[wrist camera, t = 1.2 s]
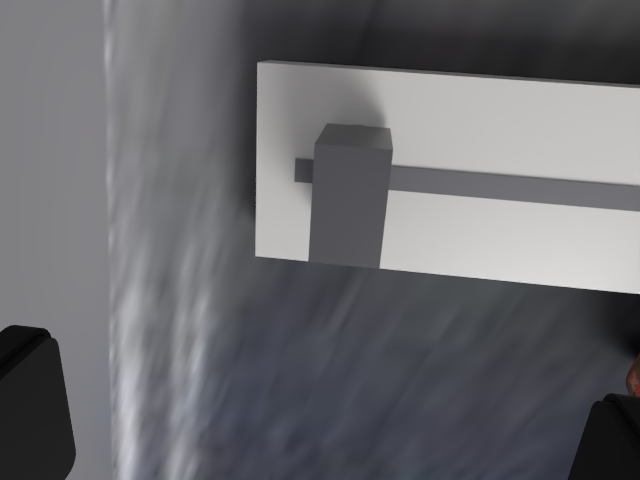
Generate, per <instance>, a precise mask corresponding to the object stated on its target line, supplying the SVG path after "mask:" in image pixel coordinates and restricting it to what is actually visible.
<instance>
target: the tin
mask: <svg viewBox="0 0 640 480" xmlns="http://www.w3.org/2000/svg"><path fill="white" fill-rule="evenodd" d="M626 387H627V389H628V392H629V395H630V396H638V397H640V354H639V355H638V357H637V359H636V360H635V362H634V363H633V365H632V367H631V369H630V371H629V372H628V375H627V378H626Z"/></svg>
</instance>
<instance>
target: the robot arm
mask: <svg viewBox="0 0 640 480" xmlns="http://www.w3.org/2000/svg"><path fill="white" fill-rule="evenodd" d="M75 456H76V449H75V443H74V437H73V431H72V425H71V419H70V413H69V406H68V401H67V395H66V388H65V383H64V376H63V371H62V364H61V358H60V352H59V346H58V343H57V341H56V339H54V338H52V337H51V335H50V333H49V332H48V330H46V329H44V328H36V327H28V326H19V325H11V326H9V327H7V328H5V329H4V330H2V331H1V332H0V480H65V479H66V477H67V476H68V474H69V473H70V471H71V469H72V467H73V464H74V461H75ZM568 480H640V397H638V396H630V395H621V394H612V393H611V394H607V395H606V396H605V397H604V399H603V401H596V402H595V403H594V404H593V406H592V408H591V411H590V414H589V417H588V420H587V423H586V426H585V429H584V432H583V435H582V438H581V441H580V444H579V447H578V450H577V453H576V456H575V459H574V462H573V465H572V468H571V471H570V474H569V477H568Z"/></svg>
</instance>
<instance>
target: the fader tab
mask: <svg viewBox="0 0 640 480" xmlns="http://www.w3.org/2000/svg"><path fill="white" fill-rule="evenodd" d="M392 156H393V145H392V137H391V130H390V128H382V127H369V126H356V125H343V124H330V123H327V124H326V126H325V127H324V129H323V131H322V132H321V134H320V136H319V137H318V139H317V140H316V142H315V146H314V165H313V183H312V201H311V220H310V238H309V257H308V262H316V263H326V264H336V265H346V266H357V267H367V268H377V269H379V268H380V260H381V251H382V242H383V234H384V225H385V217H386V208H387V199H388V191H389V182H390V173H391V165H392Z"/></svg>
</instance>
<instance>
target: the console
mask: <svg viewBox="0 0 640 480" xmlns="http://www.w3.org/2000/svg"><path fill="white" fill-rule="evenodd" d="M327 123H330V124H343V125H356V126H369V127H382V128H390V130H391V137H392V145H393V156H392V165H391V173H390V182H389V191H388V199H387V208H386V217H385V225H384V234H383V242H382V251H381V260H380V268H382V269H392V270H402V271H412V272H422V273H432V274H442V275H452V276H462V277H473V278H483V279H493V280H503V281H513V282H523V283H533V284H543V285H553V286H563V287H573V288H583V289H593V290H603V291H613V292H623V293H634V294H640V85H632V84H617V83H603V82H588V81H573V80H558V79H543V78H529V77H514V76H499V75H484V74H469V73H454V72H440V71H425V70H410V69H395V68H380V67H366V66H351V65H336V64H321V63H306V62H292V61H277V60H268V61H262V62H257V154H256V256H261V257H271V258H281V259H291V260H301V261H308V257H309V238H310V220H311V201H312V183H313V165H314V146H315V142H316V140H317V139H318V137H319V136H320V134H321V132H322V131H323V129H324V127H325V126H326V124H327Z"/></svg>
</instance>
